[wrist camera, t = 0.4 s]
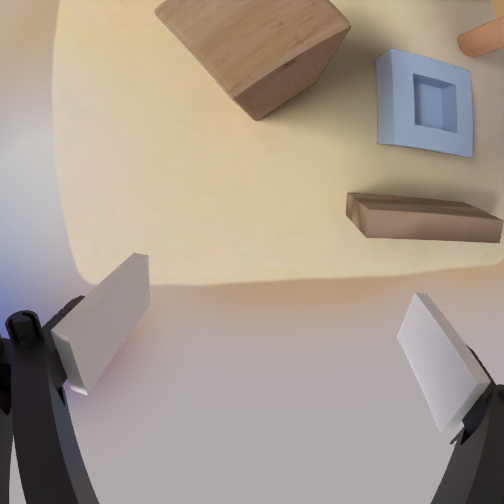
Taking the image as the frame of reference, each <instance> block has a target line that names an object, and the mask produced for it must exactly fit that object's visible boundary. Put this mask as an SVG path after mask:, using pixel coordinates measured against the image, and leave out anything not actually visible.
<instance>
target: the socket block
mask: <svg viewBox="0 0 504 504" xmlns="http://www.w3.org/2000/svg"><path fill="white" fill-rule="evenodd" d="M375 64H376V81H377V110H378V141H377V144H385V145H393V146H401V147H408V148H415V149H421V150H428V151H434V152H439V153H445V154H450V155H457V156H463V157H469V158H472V151H473V110H472V92H471V80H470V71H468V70H466V69H463V68H460V67H457V66H454V65H451V64H448V63H445V62H442V61H439V60H435V59H432V58H428V57H425V56H421V55H417V54H413V53H409V52H405V51H400V50H396V49H391V48H390V49H389V50H388V51H386V52H385V53H384V54H382V55H381V56H380V57H379V58H377V59H376V60H375Z"/></svg>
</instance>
